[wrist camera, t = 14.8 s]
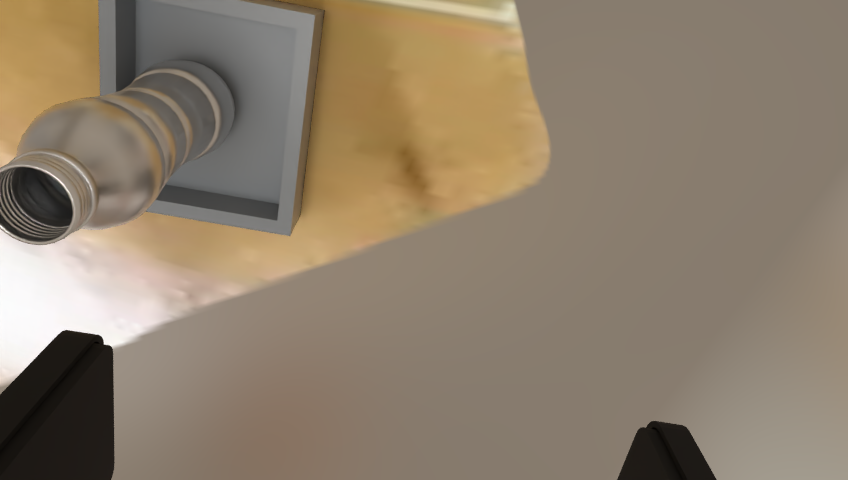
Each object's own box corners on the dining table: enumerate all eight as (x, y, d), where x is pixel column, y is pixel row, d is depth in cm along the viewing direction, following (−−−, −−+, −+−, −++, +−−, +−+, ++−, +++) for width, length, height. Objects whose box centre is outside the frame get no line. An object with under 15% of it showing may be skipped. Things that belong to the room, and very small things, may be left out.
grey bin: (126, -29, 42) (97, -28, 38) (324, 10, 43) (315, 15, 39) (126, 185, 48) (102, 204, 44) (300, 214, 49) (290, 236, 45)
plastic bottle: (258, 130, 45) (144, 248, 27) (172, 160, 46) (5, 295, 27) (216, 40, 42) (60, 102, 24) (127, 74, 43) (-90, 159, 25)
